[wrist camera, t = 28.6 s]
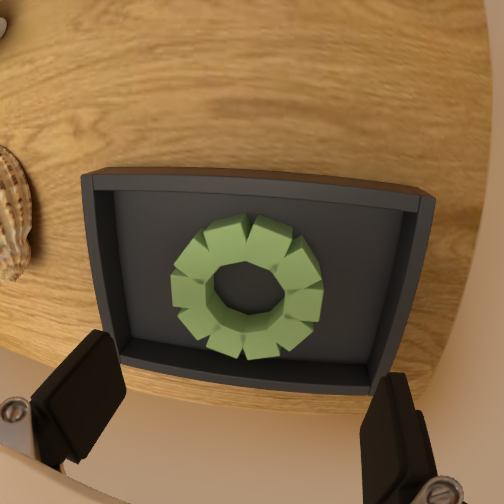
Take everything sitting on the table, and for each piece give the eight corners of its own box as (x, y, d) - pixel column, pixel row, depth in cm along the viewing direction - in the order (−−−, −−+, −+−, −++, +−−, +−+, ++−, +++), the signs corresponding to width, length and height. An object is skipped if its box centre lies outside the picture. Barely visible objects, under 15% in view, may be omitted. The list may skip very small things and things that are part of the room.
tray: (417, 187, 15) (436, 198, 12) (373, 368, 19) (380, 396, 17) (105, 167, 16) (79, 174, 14) (126, 339, 21) (110, 362, 18)
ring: (329, 219, 15) (332, 231, 14) (310, 346, 18) (310, 366, 17) (180, 208, 16) (166, 218, 14) (186, 332, 19) (176, 350, 17)
